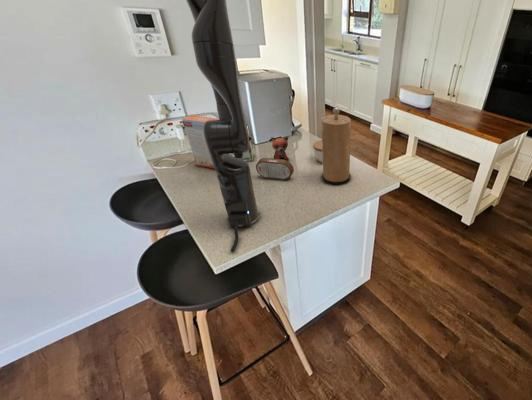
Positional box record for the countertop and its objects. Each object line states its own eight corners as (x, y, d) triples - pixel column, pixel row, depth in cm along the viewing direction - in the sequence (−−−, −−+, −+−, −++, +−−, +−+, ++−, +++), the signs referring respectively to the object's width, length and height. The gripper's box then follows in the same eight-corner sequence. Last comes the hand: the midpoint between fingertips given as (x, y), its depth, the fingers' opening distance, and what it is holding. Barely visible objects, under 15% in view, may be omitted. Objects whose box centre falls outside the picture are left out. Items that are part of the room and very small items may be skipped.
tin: (294, 177, 117) (293, 159, 112) (292, 181, 114) (290, 163, 109) (259, 174, 117) (256, 156, 113) (256, 178, 115) (253, 159, 110)
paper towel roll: (351, 185, 114) (353, 112, 97) (321, 185, 113) (319, 112, 96) (349, 171, 124) (351, 103, 107) (322, 171, 123) (320, 102, 106)
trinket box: (322, 167, 125) (321, 147, 120) (309, 158, 132) (308, 139, 127) (341, 161, 131) (341, 142, 126) (327, 153, 138) (327, 134, 133)
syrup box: (239, 161, 126) (232, 130, 118) (240, 156, 131) (234, 126, 122) (253, 160, 127) (247, 130, 119) (253, 155, 132) (248, 125, 124)
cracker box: (232, 165, 123) (221, 118, 111) (223, 171, 118) (211, 123, 106) (205, 159, 126) (192, 113, 114) (195, 165, 121) (180, 118, 109)
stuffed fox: (287, 153, 135) (285, 129, 128) (292, 163, 127) (289, 138, 120) (271, 155, 133) (268, 131, 126) (275, 166, 124) (271, 140, 117)
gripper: (206, 117, 96) (218, 162, 106) (246, 118, 97) (254, 162, 107) (214, 110, 102) (224, 153, 112) (251, 111, 103) (258, 154, 113)
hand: (239, 158), depth 110 cm, fingers closed
